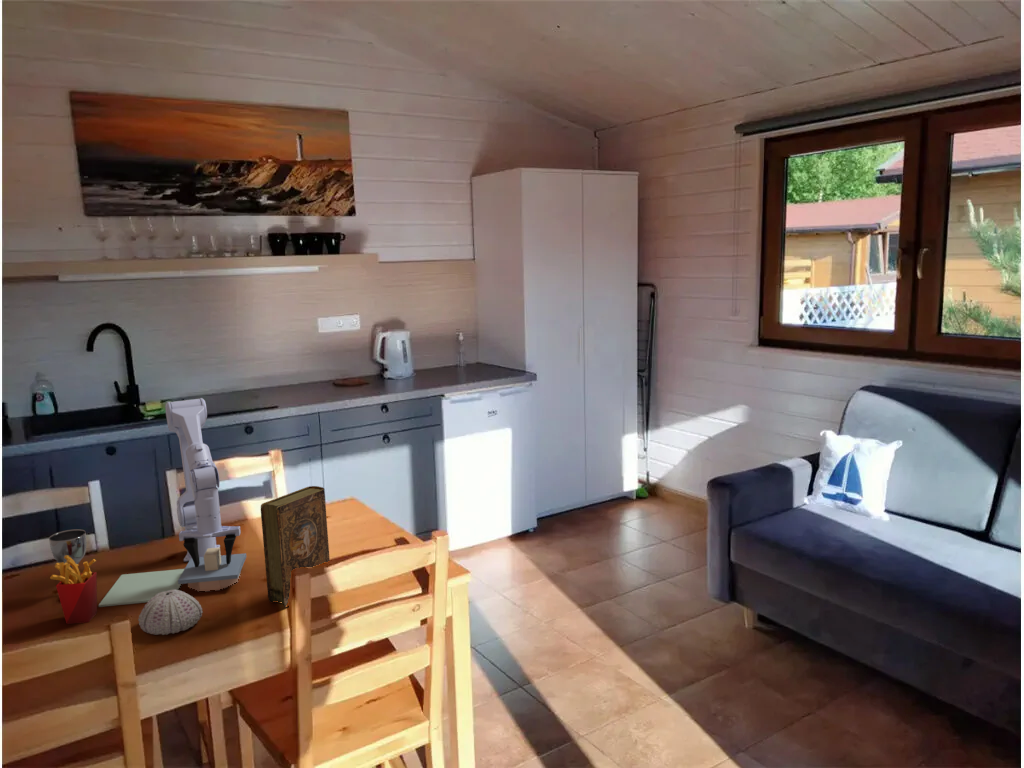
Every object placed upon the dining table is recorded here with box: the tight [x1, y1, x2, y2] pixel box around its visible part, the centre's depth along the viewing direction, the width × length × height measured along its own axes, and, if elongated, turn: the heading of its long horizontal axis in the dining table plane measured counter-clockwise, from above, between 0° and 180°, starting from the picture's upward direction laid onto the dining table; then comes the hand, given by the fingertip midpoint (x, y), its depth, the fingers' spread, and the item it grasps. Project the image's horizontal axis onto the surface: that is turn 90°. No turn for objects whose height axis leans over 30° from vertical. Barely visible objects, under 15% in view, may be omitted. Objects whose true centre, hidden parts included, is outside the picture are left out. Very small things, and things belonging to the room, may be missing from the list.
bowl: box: [187, 572, 241, 592], centre depth 200 cm, size 12×12×3 cm
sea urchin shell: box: [137, 589, 204, 636], centre depth 176 cm, size 13×14×8 cm
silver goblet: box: [48, 528, 87, 569], centre depth 195 cm, size 8×8×15 cm
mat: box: [97, 568, 185, 608], centre depth 197 cm, size 18×17×1 cm
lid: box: [178, 546, 247, 585], centre depth 199 cm, size 14×14×5 cm
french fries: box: [49, 555, 98, 625], centre depth 179 cm, size 9×8×15 cm
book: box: [260, 485, 331, 608], centre depth 189 cm, size 16×6×25 cm, turn 148°
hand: (213, 564), depth 199 cm, fingers open, 7 cm apart
